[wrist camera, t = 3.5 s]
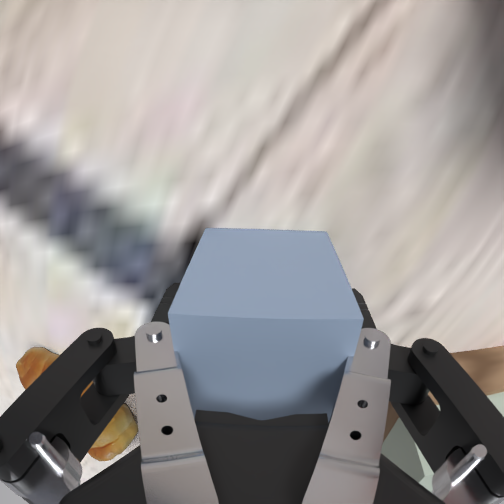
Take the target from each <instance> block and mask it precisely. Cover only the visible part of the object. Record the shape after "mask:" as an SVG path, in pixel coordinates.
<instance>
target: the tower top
mask: <svg viewBox="0 0 504 504" xmlns="http://www.w3.org/2000/svg"><path fill="white" fill-rule="evenodd" d="M487 397H488V398H489V399H490V401H491V402H492V403H493V404H494V406H495V407H496V408H497V409H498V410H499V412H500V413H501V414H502V415H503V417H504V392H500V393H496V394H492V395H487ZM436 406H437V407H438V409H439V410H440V406H439V405H436ZM381 453H382V454H383V455H384V456H385V457H387V458H388V459H389V460H390V461H392V462H393V463H394V464H395V465H397V466H398V467H399V468H400V469H402V470H403V471H404V472H405V473H407V474H408V475H409V476H411V477H412V478H413V479H414V480H416V481H417V482H418V483H420V484H421V485H422V486H424V487H425V488H426V489H427V490H429V491H430V492H431V493H432V490H433V487H432V477H433V475H434V473H433V471H432V469H431V468H430V466H429V464H428V463H427V461H426V459H425V458H424V456H423V454H422V453H421V451H420V450H419V448H418V446H417V445H416V443H415V441H414V440H413V438H412V437H411V435H410V433H409V432H408V430H407V428H406V427H405V425H404V424H403V422H402V420H401V419H400V417H399V418H398V420H397V421H396V423H395V425H394V426H393V428H392V429H391V431H390V433H389V434H388V436H387V437H386V439H385V440H384V442H383V444H382V449H381Z"/></svg>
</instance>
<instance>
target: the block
mask: <svg viewBox="0 0 504 504" xmlns="http://www.w3.org/2000/svg"><path fill="white" fill-rule="evenodd" d="M168 318H169V325H170V331H171V337H172V343H173V348H174V351H178V355H179V359H180V364H181V366H182V371H183V375H184V379H185V384H186V388H187V392H188V396H189V400H190V404H191V408H192V412H193V416H194V419H195V414H196V410H206V411H218V412H229V413H233V414H237V415H241V416H244V417H248V418H252V419H257V420H268V419H274V418H279V417H284V416H289V415H294V414H322V413H327V417H328V422H329V420H330V416H331V413H332V410H333V407H334V403H335V400H336V398H337V395H338V392H339V388H340V385H341V381H342V377H343V374H344V370H345V366H346V363H347V359H348V356H354V354H355V351H356V347H357V343H358V340H359V336H360V332H361V328H362V324H363V320H364V318H363V316H362V313H361V311H360V308H359V306H358V303H357V301H356V298H355V296H354V294H353V291H352V289H351V286H350V284H349V282H348V279H347V277H346V274H345V272H344V270H343V267H342V265H341V263H340V260H339V258H338V256H337V254H336V251H335V249H334V247H333V244H332V242H331V240H330V238H329V236H328V233H327V232H322V231H295V230H264V229H228V228H206V229H205V231H204V233H203V235H202V238H201V240H200V242H199V244H198V246H197V248H196V251H195V253H194V255H193V257H192V259H191V262H190V264H189V266H188V268H187V270H186V273H185V275H184V277H183V279H182V282H181V284H180V286H179V289H178V291H177V293H176V295H175V298H174V300H173V302H172V305H171V307H170V309H169V312H168Z"/></svg>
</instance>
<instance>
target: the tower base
mask: <svg viewBox="0 0 504 504" xmlns="http://www.w3.org/2000/svg"><path fill="white" fill-rule="evenodd" d="M450 354H451V355H452V356H453V358H454V359H455V360H456V361H457V362H458V363H459V364H460V365H461V367H462V368H463V369H464V370H465V371H466V372H467V373H468V375H469V376H470V377H471V378H472V379H473V380H474V382H475V383H476V384H477V385H478V386H479V387H480V389H481V390H482V391H483V392H484V393H485V395H486V396H487V395H492V394H496V393H500V392H504V346H498V347H492V348H485V349H479V350H471V351H464V352H456V353H450ZM428 395H429V396H430V398H431V399H432V400H433V402H434V403H435V404H436V405H439V403H438V402H437V400H436V399H435V398H434V396H433V395H432V394H431V392H430V391H429V393H428ZM398 418H399V416H398V414H397V413H396V411H395V409H394V408H393V406H392V404H391V402H390V401H389V404H388V411H387V418H386V425H385V432H384V438H383V442H384V440H385V439H386V437H387V436H388V434H389V433H390V431H391V429H392V428H393V426H394V425H395V423H396V421H397V420H398Z"/></svg>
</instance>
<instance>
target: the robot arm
mask: <svg viewBox="0 0 504 504" xmlns="http://www.w3.org/2000/svg"><path fill="white" fill-rule="evenodd" d="M180 284H181V283H174V284H172V285H171V286H170V287H169V288H167V289H166V292H165V294H164V296H163V298H162V300H161V302H160V304H159V306H158V308H157V310H156V312H155V314H154V316H153V319H152V321H151V322H149V323H146V324H144V325H142V326H141V327H139V328H138V329H137V331H136V333H135V336H133V337H128V338H119V339H114V337H113V334H112V333H111V331H109V330H107V329H105V328H93V329H90V330H87V331H85V332H84V333H83V334H81V335H80V336H79V337H78V338H77V339H76V340H75V341H74V342H73V343H72V344H71V345H70V346H69V347H68V348H67V349H66V350H65V351H64V352H63V353H62V354H61V355H60V356H59V357H58V358H57V359H56V360H55V361H54V362H53V363H52V364H51V365H50V366H49V367H48V368H47V369H46V370H45V371H44V372H43V373H42V374H41V375H40V376H39V377H38V378H37V379H36V380H35V381H34V382H33V383H32V384H31V385H30V386H29V387H28V388H27V389H26V390H25V391H24V392H23V393H22V394H21V395H20V396H19V397H18V398H17V400H16V401H15V402H14V403H13V404H12V405H11V406H10V407H9V408H8V409H7V410H6V411H5V412H4V413H3V414H2V416H1V417H0V480H1V481H2V482H3V483H4V484H5V485H6V486H7V487H8V488H10V489H11V490H12V491H13V492H14V493H16V494H17V495H18V496H21V497H22V498H23V499H24V500H26V501H27V502H28V503H29V504H499V503H501V502H502V501H503V500H504V417H503V415H502V414H501V413H500V412H499V410H498V409H497V408H496V407H495V406H494V404H493V403H492V402H491V401H490V399H489V398H488V397H487V396H486V395H485V393H484V392H483V391H482V390H481V389H480V387H479V386H478V385H477V384H476V383H475V382H474V380H473V379H472V378H471V377H470V376H469V375H468V373H467V372H466V371H465V370H464V369H463V368H462V367H461V365H460V364H459V363H458V362H457V361H456V360H455V359H454V358H453V356H452V355H451V354H450V353H449V352H448V351H447V350H446V349H445V348H444V346H443V345H442V344H440V343H439V342H437V341H435V340H432V339H428V338H422V339H418V340H416V341H415V342H414V343H413V345H412V347H411V348H408V347H402V346H397V345H393V344H391V341H390V339H389V337H388V336H387V335H386V334H385V333H384V332H382V331H380V330H377V329H376V326H375V324H374V322H373V319H372V317H371V314H370V312H369V310H368V308H367V305H366V304H365V301H364V298H363V296H362V295H361V294H360V293H359V292H358V291H357V290H356V289H352V291H353V294H354V296H355V298H356V301H357V303H358V306H359V308H360V311H361V313H362V316H363V318H364V320H363V324H362V328H361V332H360V336H359V340H358V343H357V347H356V351H355V354H354V356H348V359H347V363H346V366H345V370H344V374H343V377H342V381H341V385H340V388H339V392H338V395H337V398H336V400H335V403H334V407H333V410H332V413H331V416H330V420H329V422H328V417H327V413H322V414H294V415H289V416H284V417H279V418H274V419H268V420H257V419H252V418H248V417H244V416H241V415H237V414H233V413H229V412H218V411H206V410H196V414H195V419H194V416H193V412H192V408H191V404H190V400H189V396H188V392H187V388H186V384H185V379H184V375H183V371H182V366H181V364H180V359H179V355H178V351H174V348H173V343H172V337H171V331H170V325H169V318H168V312H169V309H170V307H171V305H172V302H173V300H174V298H175V295H176V293H177V291H178V289H179V286H180ZM92 381H93V383H92V384H91V386H90V387H89V388H88V389H87V390H86V392H85V393H84V394H83V395H82V396H81V394H82V392H83V391H84V390H85V389H86V387H87V386H88V385H89V384H90V383H91V382H92ZM429 391H430V392H431V394H432V395H433V396H434V398H435V399H436V400H437V402H438V403H439V406H440V410H439V409H438V407H437V406H436V404H435V403H434V402H433V400H432V399H431V398H430V396H429V395H428V393H429ZM133 393H135V400H136V411H137V421H138V431H139V439H140V446H138V447H137V448H135V449H134V450H132V451H131V452H130V453H128V454H127V455H125V456H124V457H122V458H121V459H119V460H118V461H116V462H115V463H113V464H112V465H110V466H109V467H107V468H106V469H104V470H103V471H101V472H100V473H98V474H97V475H95V476H94V477H92V478H91V479H89V480H87V481H86V482H84V483H83V484H81V485H80V478H81V476H82V466H81V463H80V462H81V461H82V459H83V458H84V457H85V455H86V454H87V452H88V451H89V450H90V448H91V447H92V446H93V444H94V443H95V441H96V440H97V439H98V437H99V436H100V435H101V433H102V432H103V430H104V429H105V428H106V426H107V425H108V424H109V422H110V421H111V420H112V418H113V417H114V415H115V414H116V413H117V411H118V410H119V409H120V407H121V406H122V405H123V403H124V402H125V400H126V399H127V398H128V396H129V394H133ZM389 401H390V402H391V404H392V406H393V408H394V409H395V411H396V413H397V414H398V416H399V417H400V419H401V420H402V422H403V424H404V425H405V427H406V428H407V430H408V432H409V433H410V435H411V437H412V438H413V440H414V441H415V443H416V445H417V446H418V448H419V450H420V451H421V453H422V454H423V456H424V458H425V459H426V461H427V463H428V464H429V466H430V468H431V469H432V471H433V473H434V475H433V477H432V487H433V490H432V493H431V492H430V491H429V490H427V489H426V488H425V487H424V486H422V485H421V484H420V483H418V482H417V481H416V480H414V479H413V478H412V477H411V476H409V475H408V474H407V473H405V472H404V471H403V470H402V469H400V468H399V467H398V466H397V465H395V464H394V463H393V462H392V461H390V460H389V459H388V458H387V457H385V456H384V455H383V454H382V453H381V449H382V444H383V438H384V432H385V425H386V418H387V411H388V404H389Z"/></svg>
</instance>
